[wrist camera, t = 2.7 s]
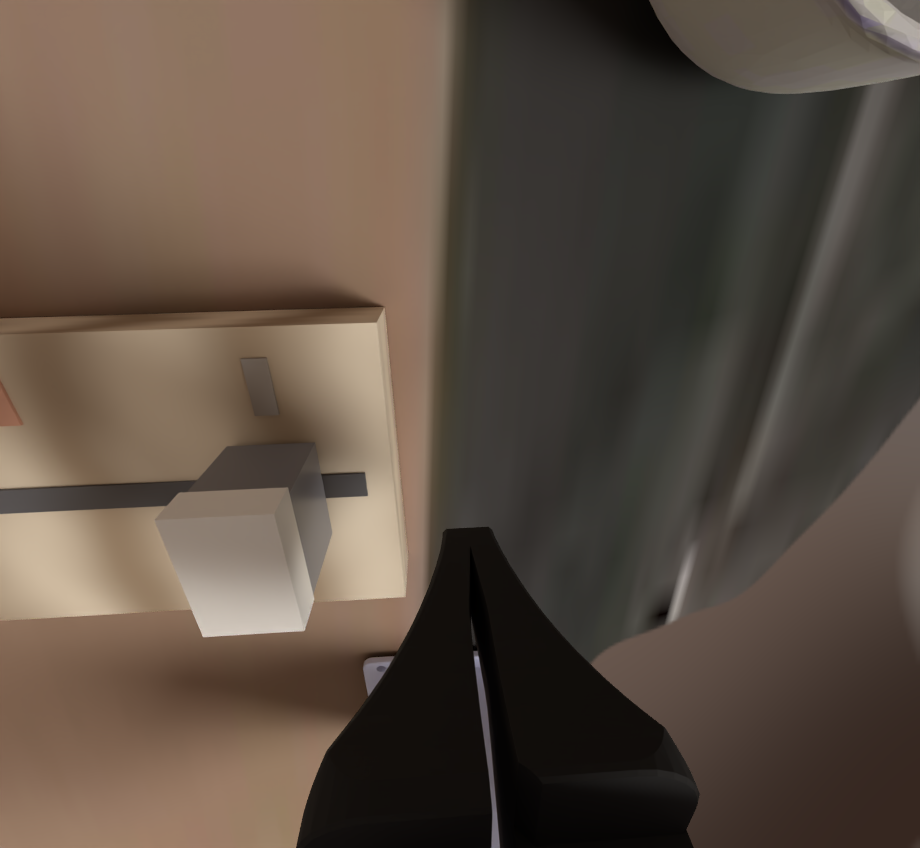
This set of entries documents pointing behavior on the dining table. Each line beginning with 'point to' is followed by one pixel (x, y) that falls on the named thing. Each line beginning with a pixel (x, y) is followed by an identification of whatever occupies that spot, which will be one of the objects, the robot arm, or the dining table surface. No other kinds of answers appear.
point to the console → (185, 446)
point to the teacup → (797, 41)
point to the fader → (250, 539)
